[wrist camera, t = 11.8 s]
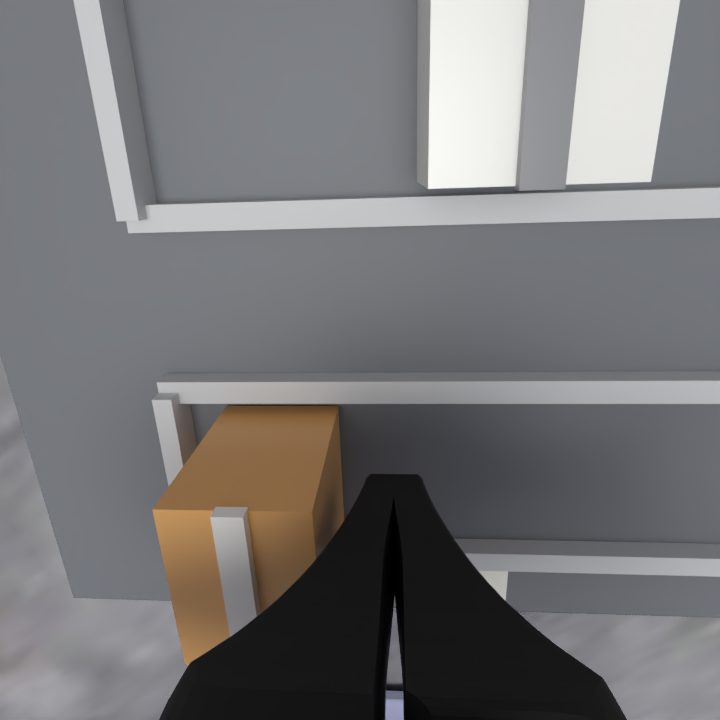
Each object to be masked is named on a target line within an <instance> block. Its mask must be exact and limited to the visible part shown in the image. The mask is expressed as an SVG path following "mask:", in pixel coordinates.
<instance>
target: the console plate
mask: <svg viewBox="0 0 720 720" xmlns="http://www.w3.org/2000/svg"><path fill="white" fill-rule="evenodd" d="M417 40H418V0H0V355H1V358H2V361H3V365H4V368H5V371H6V375H7V378H8V381H9V385H10V388H11V391H12V395H13V398H14V401H15V405H16V408H17V411H18V415H19V418H20V421H21V424H22V428H23V431H24V434H25V438H26V441H27V444H28V448H29V451H30V454H31V458H32V461H33V464H34V468H35V471H36V474H37V478H38V481H39V484H40V487H41V491H42V494H43V497H44V501H45V504H46V507H47V511H48V514H49V517H50V521H51V524H52V527H53V531H54V534H55V537H56V541H57V544H58V547H59V551H60V554H61V557H62V560H63V564H64V567H65V570H66V574H67V577H68V580H69V584H70V587H71V590H72V594H73V597H74V598H93V599H126V600H159V601H172V600H171V595H170V590H169V586H168V581H167V576H166V572H165V567H164V562H163V558H162V553H161V548H160V544H159V539H158V534H157V529H156V525H155V520H154V515H153V511H152V509H153V508H154V506H155V505H156V504H157V502H158V501H159V499H160V498H161V497H162V495H163V494H164V493H165V491H166V490H167V488H168V487H169V486H170V484H171V483H172V481H173V480H174V479H175V477H176V476H177V474H178V473H179V472H180V470H181V469H182V467H183V466H184V465H185V463H186V462H187V460H188V459H189V458H190V456H191V455H192V453H193V452H194V451H195V449H196V448H197V447H198V445H199V444H200V442H201V441H202V440H203V438H204V437H205V435H206V434H207V433H208V431H209V430H210V428H211V427H212V426H213V424H214V423H215V421H216V420H217V419H218V417H219V416H220V414H221V413H222V412H223V410H224V409H225V408H226V406H338V410H339V429H340V448H341V467H342V486H343V505H344V520H345V518H346V517H347V515H348V513H349V512H350V510H351V508H352V507H353V505H354V503H355V501H356V500H357V498H358V496H359V494H360V492H361V490H362V488H363V485H364V483H365V480H366V478H367V477H368V476H369V475H370V474H418V475H419V476H420V477H421V478H422V479H423V482H424V485H425V488H426V490H427V492H428V495H429V497H430V499H431V501H432V503H433V505H434V507H435V509H436V510H437V512H438V514H439V516H440V517H441V519H442V521H443V522H444V524H445V525H446V527H447V529H448V530H449V532H450V533H451V535H452V536H453V538H454V539H455V541H456V542H457V544H458V545H459V546H460V548H461V549H462V551H463V552H464V553H465V555H466V556H467V557H468V559H469V560H470V561H471V563H472V564H473V565H474V566H475V568H476V569H477V570H478V571H479V572H480V574H481V575H482V576H483V577H484V578H485V579H486V580H487V582H488V583H489V584H490V585H491V586H492V587H493V588H494V589H495V590H496V591H497V592H498V593H499V595H500V596H501V597H502V598H503V599H504V600H505V601H506V602H507V603H508V604H509V605H510V606H512V607H513V608H514V609H515V610H516V611H520V612H553V613H586V614H618V615H651V616H684V617H717V618H720V0H680V4H679V10H678V17H677V23H676V29H675V35H674V41H673V48H672V54H671V60H670V66H669V73H668V79H667V85H666V91H665V97H664V104H663V110H662V116H661V122H660V128H659V135H658V141H657V147H656V153H655V160H654V166H653V172H652V178H651V182H631V183H599V184H567V185H566V187H565V189H557V190H525V191H518V190H514V189H515V186H504V187H472V188H440V189H427V188H426V187H424V186H423V185H421V184H420V183H418V182H417ZM394 608H396V602H395V598H394Z"/></svg>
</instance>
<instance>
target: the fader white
mask: <svg viewBox="0 0 720 720" xmlns="http://www.w3.org/2000/svg"><path fill="white" fill-rule="evenodd" d="M679 4H680V0H418V40H417V182H418V183H420V184H421V185H423V186H424V187H426V188H427V189H440V188H472V187H504V186H515V189H514V190H518V191H525V190H557V189H565V187H566V185H567V184H599V183H631V182H651V178H652V172H653V166H654V160H655V153H656V147H657V141H658V135H659V128H660V122H661V116H662V110H663V104H664V97H665V91H666V85H667V79H668V73H669V66H670V60H671V54H672V48H673V41H674V35H675V29H676V23H677V17H678V10H679Z"/></svg>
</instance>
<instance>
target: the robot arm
mask: <svg viewBox="0 0 720 720" xmlns="http://www.w3.org/2000/svg"><path fill="white" fill-rule="evenodd" d="M394 598H395V602H396V613H397V623H398V634H399V644H400V654H401V665H402V678H403V691H386V680H387V666H388V657H389V647H390V637H391V627H392V618H393V608H394ZM159 720H627V719H626V717H625V715H624V714H623V712H622V710H621V708H620V706H619V705H618V703H617V701H616V699H615V698H614V696H613V694H612V693H611V691H610V689H609V687H608V686H607V684H606V683H605V681H604V679H603V678H602V677H601V676H599V675H598V674H596V673H595V672H593V671H592V670H591V669H589V668H588V667H586V666H585V665H583V664H582V663H581V662H579V661H578V660H576V659H575V658H574V657H572V656H571V655H569V654H568V653H566V652H565V651H564V650H562V649H561V648H559V647H558V646H557V645H555V644H554V643H553V642H552V641H550V640H549V639H548V638H547V637H545V636H544V635H543V634H542V633H540V632H539V631H538V630H537V629H536V628H534V627H533V626H532V625H531V624H530V623H529V622H528V621H527V620H526V619H524V618H523V617H522V616H521V615H520V614H519V613H518V612H517V611H516V610H515V609H514V608H513V607H512V606H510V605H509V604H508V603H507V602H506V601H505V600H504V599H503V598H502V597H501V596H500V595H499V593H498V592H497V591H496V590H495V589H494V588H493V587H492V586H491V585H490V584H489V583H488V582H487V580H486V579H485V578H484V577H483V576H482V575H481V574H480V572H479V571H478V570H477V569H476V568H475V566H474V565H473V564H472V563H471V561H470V560H469V559H468V557H467V556H466V555H465V553H464V552H463V551H462V549H461V548H460V546H459V545H458V544H457V542H456V541H455V539H454V538H453V536H452V535H451V533H450V532H449V530H448V529H447V527H446V525H445V524H444V522H443V521H442V519H441V517H440V516H439V514H438V512H437V510H436V509H435V507H434V505H433V503H432V501H431V499H430V497H429V495H428V492H427V490H426V488H425V485H424V482H423V479H422V478H421V477H420V476H419V475H418V474H370V475H369V476H368V477H367V478H366V480H365V483H364V485H363V488H362V490H361V492H360V494H359V496H358V498H357V500H356V501H355V503H354V505H353V507H352V508H351V510H350V512H349V513H348V515H347V517H346V518H345V520H344V521H343V523H342V525H341V526H340V528H339V529H338V530H337V532H336V533H335V535H334V536H333V537H332V539H331V540H330V542H329V543H328V544H327V546H326V547H325V548H324V550H323V551H322V552H321V553H320V555H319V556H318V557H317V558H316V560H315V561H314V562H313V563H312V564H311V565H310V566H309V568H308V569H307V570H306V571H305V572H304V573H303V574H302V575H301V576H300V577H299V578H298V579H297V580H296V581H295V582H294V583H293V584H292V585H291V586H290V587H289V588H288V589H287V590H286V591H285V592H284V593H283V594H282V595H281V596H280V597H279V598H278V599H277V600H276V601H275V602H274V603H273V604H271V605H270V606H269V607H268V608H267V609H265V610H264V611H263V612H262V613H260V614H259V615H258V616H257V617H256V618H254V619H253V620H252V621H251V622H249V623H248V624H247V625H246V626H244V627H243V628H242V629H240V630H239V631H238V632H236V633H235V634H234V635H232V636H231V637H229V638H228V639H226V640H224V641H223V642H221V643H220V644H218V645H217V646H215V647H214V648H212V649H211V650H209V651H208V652H206V653H205V654H203V655H201V656H200V657H198V658H197V659H195V660H193V661H192V662H190V664H189V666H188V667H187V669H186V671H185V672H184V674H183V676H182V677H181V679H180V681H179V683H178V684H177V686H176V688H175V690H174V691H173V693H172V695H171V697H170V698H169V700H168V702H167V704H166V706H165V708H164V710H163V713H162V715H161V717H160V719H159Z"/></svg>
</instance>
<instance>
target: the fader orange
mask: <svg viewBox="0 0 720 720" xmlns="http://www.w3.org/2000/svg"><path fill="white" fill-rule="evenodd" d="M152 511H153V515H154V520H155V525H156V529H157V534H158V539H159V544H160V548H161V553H162V558H163V562H164V567H165V572H166V576H167V581H168V586H169V590H170V595H171V600H172V605H173V609H174V614H175V619H176V623H177V628H178V633H179V637H180V642H181V647H182V651H183V656H184V661H185V665H189V664H190V662H192V661H193V660H195V659H197V658H198V657H200V656H201V655H203V654H205V653H206V652H208V651H209V650H211V649H212V648H214V647H215V646H217V645H218V644H220V643H221V642H223V641H224V640H226V639H228V638H229V637H231V636H232V635H234V634H235V633H236V632H238V631H239V630H240V629H242V628H243V627H244V626H246V625H247V624H248V623H249V622H251V621H252V620H253V619H254V618H256V617H257V616H258V615H259V614H260V613H262V612H263V611H264V610H265V609H267V608H268V607H269V606H270V605H271V604H273V603H274V602H275V601H276V600H277V599H278V598H279V597H280V596H281V595H282V594H283V593H284V592H285V591H286V590H287V589H288V588H289V587H290V586H291V585H292V584H293V583H294V582H295V581H296V580H297V579H298V578H299V577H300V576H301V575H302V574H303V573H304V572H305V571H306V570H307V569H308V568H309V566H310V565H311V564H312V563H313V562H314V561H315V560H316V558H317V557H318V556H319V555H320V553H321V552H322V551H323V550H324V548H325V547H326V546H327V544H328V543H329V542H330V540H331V539H332V537H333V536H334V535H335V533H336V532H337V530H338V529H339V528H340V526H341V525H342V523H343V521H344V505H343V486H342V467H341V448H340V429H339V410H338V406H226V408H225V409H224V410H223V412H222V413H221V414H220V416H219V417H218V419H217V420H216V421H215V423H214V424H213V426H212V427H211V428H210V430H209V431H208V433H207V434H206V435H205V437H204V438H203V440H202V441H201V442H200V444H199V445H198V447H197V448H196V449H195V451H194V452H193V453H192V455H191V456H190V458H189V459H188V460H187V462H186V463H185V465H184V466H183V467H182V469H181V470H180V472H179V473H178V474H177V476H176V477H175V479H174V480H173V481H172V483H171V484H170V486H169V487H168V488H167V490H166V491H165V493H164V494H163V495H162V497H161V498H160V499H159V501H158V502H157V504H156V505H155V506H154V508H153V509H152Z"/></svg>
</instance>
